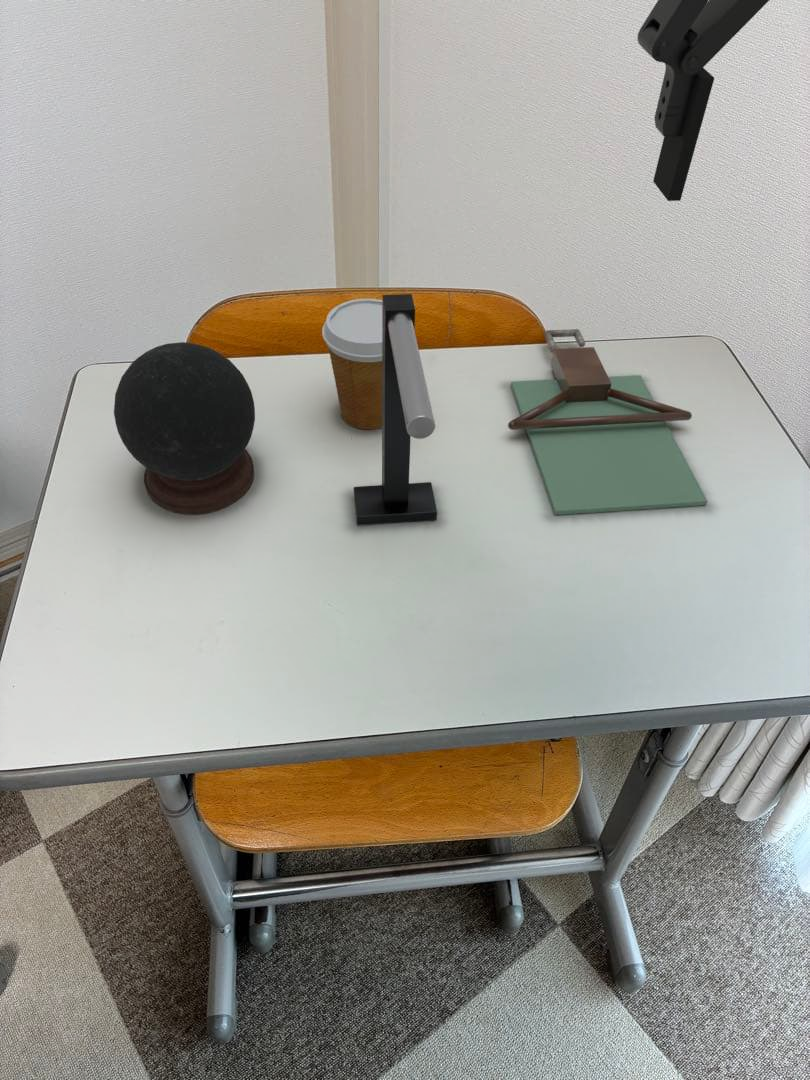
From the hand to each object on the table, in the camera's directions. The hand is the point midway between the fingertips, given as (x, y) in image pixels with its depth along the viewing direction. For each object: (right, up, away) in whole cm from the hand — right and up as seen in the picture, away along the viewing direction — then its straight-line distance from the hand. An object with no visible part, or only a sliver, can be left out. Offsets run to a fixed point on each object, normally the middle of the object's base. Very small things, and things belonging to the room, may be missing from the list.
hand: (774, 188), depth 48 cm
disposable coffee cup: (-27, -7, +43) cm, 51 cm away
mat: (-1, -10, +41) cm, 42 cm away
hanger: (-1, -8, +40) cm, 41 cm away
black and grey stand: (-23, -22, +29) cm, 43 cm away
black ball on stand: (-44, -15, +35) cm, 58 cm away
